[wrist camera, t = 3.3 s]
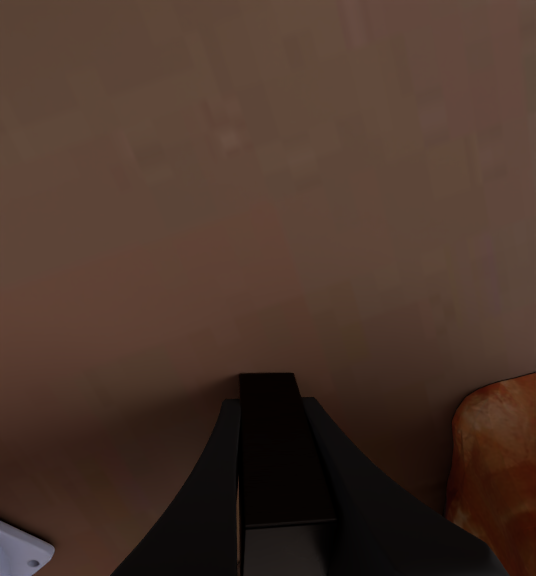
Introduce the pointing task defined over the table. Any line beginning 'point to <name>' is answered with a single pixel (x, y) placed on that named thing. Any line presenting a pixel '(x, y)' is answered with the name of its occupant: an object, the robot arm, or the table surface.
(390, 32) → the table surface
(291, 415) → the ladle
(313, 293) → the table surface
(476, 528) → the frog figurine
